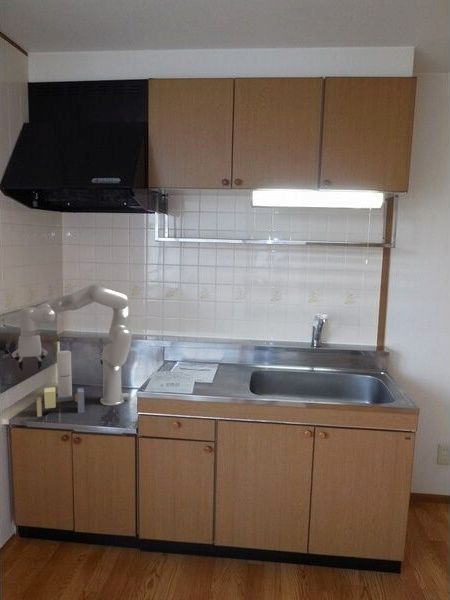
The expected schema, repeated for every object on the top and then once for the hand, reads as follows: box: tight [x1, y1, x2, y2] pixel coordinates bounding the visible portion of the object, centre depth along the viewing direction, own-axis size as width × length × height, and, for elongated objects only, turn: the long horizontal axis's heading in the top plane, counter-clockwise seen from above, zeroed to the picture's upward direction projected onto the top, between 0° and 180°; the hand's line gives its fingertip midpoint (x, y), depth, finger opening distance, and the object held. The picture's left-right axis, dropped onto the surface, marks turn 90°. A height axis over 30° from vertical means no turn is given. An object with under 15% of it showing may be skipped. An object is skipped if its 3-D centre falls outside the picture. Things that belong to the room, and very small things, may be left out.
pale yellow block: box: [43, 386, 57, 409], centre depth 222 cm, size 5×6×8 cm
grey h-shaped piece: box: [36, 387, 85, 418], centre depth 224 cm, size 22×6×11 cm, turn 110°
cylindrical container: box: [56, 350, 73, 397], centre depth 244 cm, size 7×7×25 cm
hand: (30, 368), depth 216 cm, fingers open, 7 cm apart
